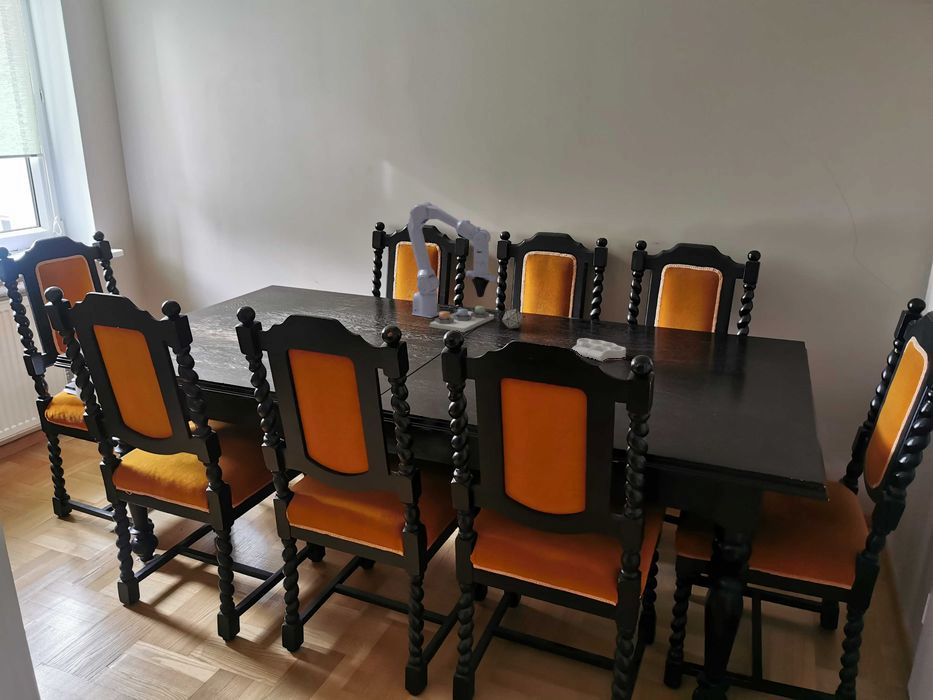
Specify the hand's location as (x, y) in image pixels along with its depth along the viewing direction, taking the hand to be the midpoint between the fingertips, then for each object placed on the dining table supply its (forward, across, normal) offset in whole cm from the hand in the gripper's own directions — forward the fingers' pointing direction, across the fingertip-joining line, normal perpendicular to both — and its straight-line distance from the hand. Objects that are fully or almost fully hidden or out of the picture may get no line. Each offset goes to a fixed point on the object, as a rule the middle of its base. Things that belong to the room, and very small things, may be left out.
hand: (480, 296), depth 271 cm
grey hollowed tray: (+10, +58, -1) cm, 59 cm away
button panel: (+9, -1, -8) cm, 13 cm away
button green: (+6, 0, 0) cm, 6 cm away
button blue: (+6, -1, -8) cm, 11 cm away
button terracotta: (+6, -2, -16) cm, 18 cm away
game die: (+10, +18, 0) cm, 20 cm away
